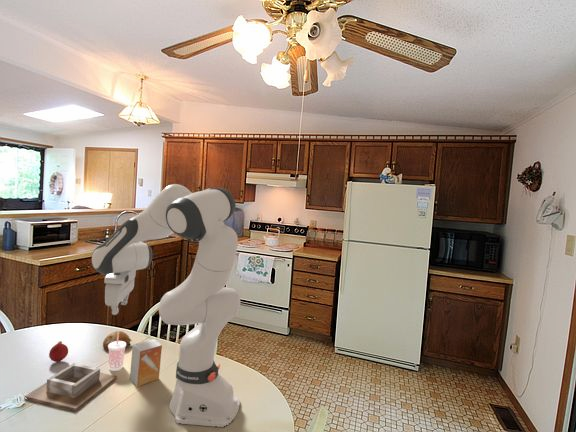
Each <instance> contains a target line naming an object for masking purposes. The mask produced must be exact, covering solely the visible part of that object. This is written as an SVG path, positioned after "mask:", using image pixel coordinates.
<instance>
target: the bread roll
mask: <svg viewBox="0 0 576 432" xmlns="http://www.w3.org/2000/svg"><path fill="white" fill-rule="evenodd" d="M118 331H119V338H118V341H124V342H126V347H125V350H126V349H128V348H129V346H131V342H132V339H131V338H130V336H129V335H128V334H127V333H125V332H124V331H122V330H116V331H112V332H111V333H109V334H108V335H107V336H106V337H105V338H104V340H103V342H102V347H103V349H104V350H105V351H106V352H107V351H108V352H109V349H108V345H109V344H110V343H111V342H114V341H117V332H118Z"/></svg>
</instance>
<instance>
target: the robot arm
mask: <svg viewBox="0 0 576 432" xmlns="http://www.w3.org/2000/svg"><path fill="white" fill-rule="evenodd" d="M236 206H237V205H236V199H235V198H234V195H233V194H232V193H231V192H230V191H229V190H228V189H226V188H223V187H211V188H206V189H201V191H196V192H192V191H190V189H189V188H187V187H185V186H184V185H182V184H179V183H178V184H177V183H173V184H169V185H167V186H166V187H164V188H163V189H162V190H161V191H160V192H159V193H158V194H157V195H156V196H155V197H154V199H152V201H151V202H150V204H149V205H148V206H147V207H146V208H145V209H143V210H142V211H141V212H140V213H138V214H137V215H135V216H133V217H131V218H129V219H128V220H125V222H123V223H122V224H121V225H120V226H119V227H117V229H116V230H115V231H114V232H113V233H112V234H111V235H110V236H109V237H108V238H107V239H106V240H105V241H104V242H101V243H100V244H99V245H97V246H96V247H95V249H94V250H93V252H92V255H91V265H92V268H93V269H94V270H95V271H96V272H97V273H99V274H101V275H103V276H104V275H105V277H104V282H103V283H104V284H105V287H104V303H105V304H104V305H106V306H108V307H110V308H111V314H112V316H113V315H114V316H117V314H119V311H120V308H119V304H120V305H122V306H126V305H127V304H128V299H129V296H130V293H131V292H132V291H133V290H134V287H135V278H136V274H137V272H136V271H138V270H144V269H147V268H148V267H149V266H150V265H151V263H152V261H153V249H152V247H150V245H149V244H148V243H146V242H145V241H151V240H160V239H165V238H168V237H170V236H171V235H172V234H176V235H177V236H178V237H180V238H182V239H186V240H187V242H190V243H198V248H197V250H196V251H197V252H196V255H195V259H194V263H193V266H192V268H191V271H190V274H189V275H188V276H187V277H186V279H185V280H184V281H182V283H180V284H179V285H178V286H176V287H175V288H173V289H171V290H170V291H167V292H166V293H164V294H163V296H162V297H161V298H160V301H159V302H158V303H159V304H158V314H159V317H160V320H161V321H163V323H164V324H166V325H173V326H186V325H187V326H188V325H196V324H197V325H196V326H195V327H194V328H192V329H191V330H190V331H188V332H186V334H185V335H183V337H182V339H181V340H180V343H179V355H178V361H177V363H176V369H175V370H176V371H175V379H176V381H175V386H174V391H173V394H172V396H171V397H172V398H171V400H170V402H169V411H170V412H171V413H172V415H173V416H174V420H175V422H176V424H179V423H181V425H183V424H184V425H191V426H192V425H194V426H205V427H215V426H217V427H216V428H224V426H225V427H227V426H229V425H230V424H231V423H232V422H233V421H232V420H233V419H236V417H237V415H238V413H239V411H238V410H240V407H239V406H240V403H241V402H240V398H239V397H238V396H236V395H234V388H233V386H232V384H231V383H229V381H228V380H226V379H225V377H224V376H222V375H221V374H220V373H219V370H220V369H221V363H219V364H218V365H216V362H215V353H216V347H217V346H216V345H217V341H218V338H219V336H220V334H221V332H222V330H223V329H224V328H225V327H226V325H227V324H228V322H229V321H231V320H232V319H233V318H235V317H236V316H237V315H238V313H239V311H240V307H241V297H240V295H239V293H238V292H237V290H236V289H234V287H225V286H227V284H228V281H229V278H230V276H231V273H232V269H233V267H234V264H235V260H236V256H237V251H238V244H239V242H238V240H239V239H238V238H239V237H238V235H237V232H236V231H235V229H233V228H232V227H230V226H229V225H226V224H225V223H224V222H226V221H228V220H229V219H230V218H231V217H232V216H233V215H234V213H235V210H236ZM231 421H232V422H231ZM229 423H230V424H229ZM226 425H227V426H226Z"/></svg>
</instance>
